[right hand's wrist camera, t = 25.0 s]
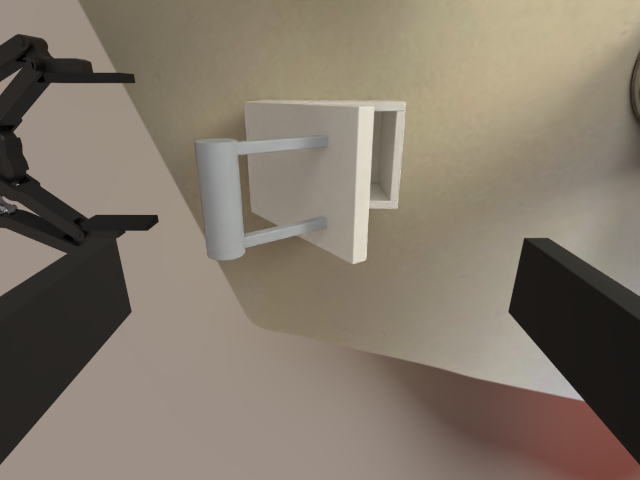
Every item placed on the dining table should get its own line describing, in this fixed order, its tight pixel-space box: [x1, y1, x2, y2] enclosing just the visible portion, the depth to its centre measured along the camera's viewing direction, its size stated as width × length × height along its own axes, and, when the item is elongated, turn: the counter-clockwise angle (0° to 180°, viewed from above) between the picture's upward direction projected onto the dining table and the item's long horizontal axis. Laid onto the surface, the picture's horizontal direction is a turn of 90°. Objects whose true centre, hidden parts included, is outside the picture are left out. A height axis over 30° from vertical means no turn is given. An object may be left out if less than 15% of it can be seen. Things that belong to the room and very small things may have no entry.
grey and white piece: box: [194, 101, 374, 265], centre depth 26 cm, size 15×10×10 cm
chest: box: [258, 100, 406, 209], centre depth 39 cm, size 14×10×9 cm
